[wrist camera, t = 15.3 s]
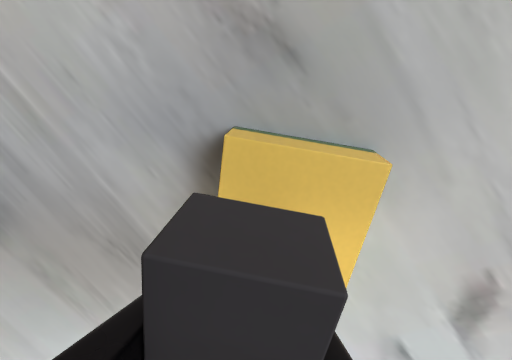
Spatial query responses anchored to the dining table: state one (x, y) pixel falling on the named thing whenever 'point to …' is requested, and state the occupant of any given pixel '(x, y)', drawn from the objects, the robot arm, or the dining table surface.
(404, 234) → the dining table surface
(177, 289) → the grey eraser
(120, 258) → the dining table surface
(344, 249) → the sponge
